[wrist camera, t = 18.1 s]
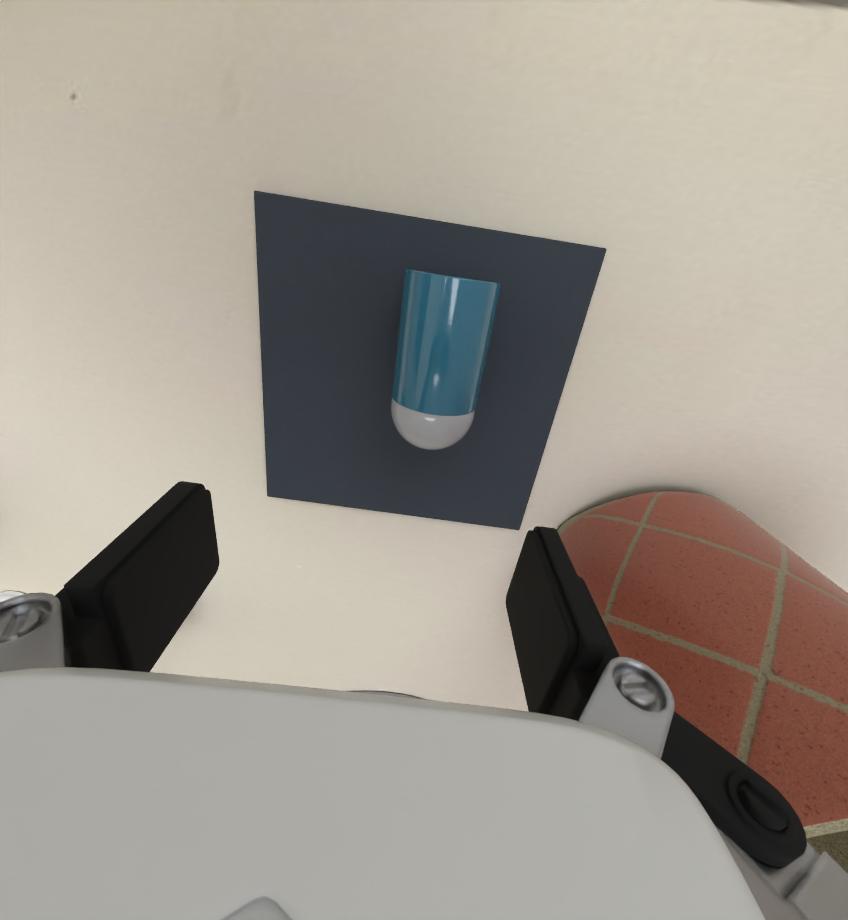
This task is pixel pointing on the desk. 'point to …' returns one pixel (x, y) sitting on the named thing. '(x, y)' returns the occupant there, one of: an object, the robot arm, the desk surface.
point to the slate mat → (374, 351)
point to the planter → (730, 639)
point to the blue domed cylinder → (440, 355)
